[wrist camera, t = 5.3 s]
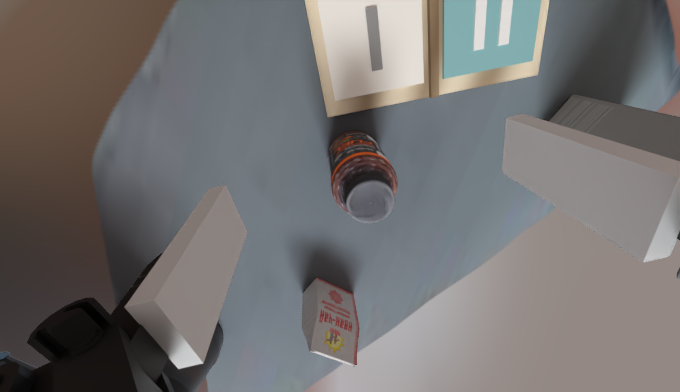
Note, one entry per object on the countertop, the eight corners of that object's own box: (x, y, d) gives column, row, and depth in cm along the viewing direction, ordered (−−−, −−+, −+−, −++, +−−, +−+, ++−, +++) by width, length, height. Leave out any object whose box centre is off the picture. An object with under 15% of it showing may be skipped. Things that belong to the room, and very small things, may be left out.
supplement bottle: (366, 119, 30) (394, 154, 20) (385, 165, 33) (418, 216, 23) (317, 143, 31) (321, 189, 21) (340, 186, 34) (353, 244, 24)
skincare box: (612, 125, 33) (830, 181, 19) (565, 174, 36) (728, 253, 22) (570, 89, 31) (786, 123, 17) (523, 144, 33) (676, 213, 19)
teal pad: (442, 78, 28) (444, 79, 27) (442, -35, 23) (445, -37, 23) (530, 60, 28) (534, 61, 27) (546, -56, 23) (551, -58, 23)
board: (327, 114, 29) (328, 118, 28) (299, -26, 24) (298, -31, 22) (529, 73, 29) (542, 75, 28) (550, -77, 24) (568, -85, 22)
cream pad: (334, 100, 28) (335, 101, 27) (315, -9, 23) (315, -11, 23) (422, 82, 28) (424, 83, 27) (419, -30, 23) (421, -32, 23)
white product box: (339, 308, 44) (346, 374, 35) (302, 293, 41) (300, 359, 33) (353, 294, 42) (364, 358, 34) (316, 277, 40) (318, 341, 31)
